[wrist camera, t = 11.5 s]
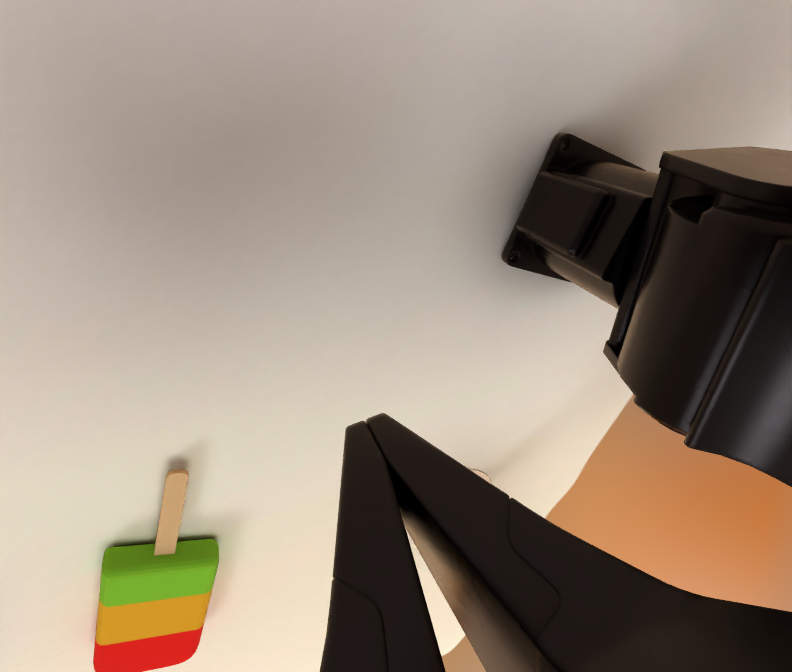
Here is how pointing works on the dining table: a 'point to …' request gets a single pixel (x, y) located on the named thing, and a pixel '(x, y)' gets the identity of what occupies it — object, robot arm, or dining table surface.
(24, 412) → the dining table surface
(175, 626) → the popsicle
